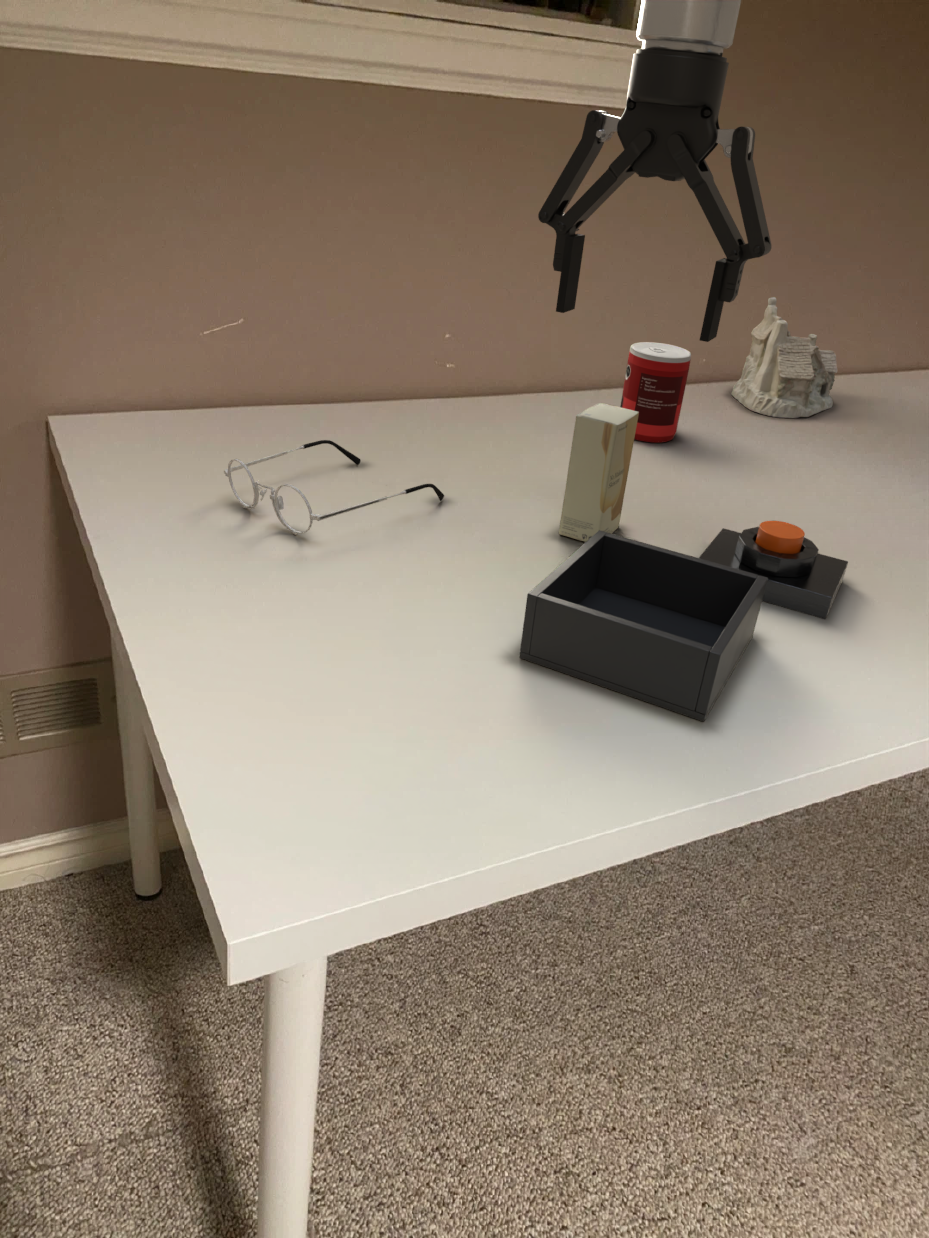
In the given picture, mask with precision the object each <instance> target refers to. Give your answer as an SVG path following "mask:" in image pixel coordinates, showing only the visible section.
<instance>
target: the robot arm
mask: <svg viewBox="0 0 929 1238" xmlns="http://www.w3.org/2000/svg"><path fill="white" fill-rule="evenodd" d="M741 3H742V0H641V4H640V10H639V16H638V23H637V28H636V34H635V35H636V38H637V40H638V41H641V42H642V45H641V48H637V49H636V52H634V53H633V55H632V62H631V69H630V75H629V81H628V87H627V93H626V104H625V109H624V111H623V113H622V115H621V117H620V116H615V115H611V114H610V113H609V112H608V111H607V110H596V109H595V110H594V109H593V110H590V111H589V112H588V113H587V115H586V118H585V121H584V127H583V131H582V133H581V134H582V135H581V138H580V141H579V142H578V144H577V146H576V147H575V149H574V150H573V152H572V154H571V156H570V158H569V159H568V161H567V163H566V165H565V167H564V168H563V170H562V172H561V173H560V175H559V177H558V178H557V180H556V181H555V183H554V185H553V187H552V188H551V190H550V192H549V194H548V196H547V197H546V200H545V201H544V203H543V205H542V206H541V208H540V210H539V212H538V213H537V214H538V215H537V218H538V221H539V222H540V223H542V224H546V225H547V226H549V227H551V228H552V229H553V230H554V232H555V235H556V237H555V244H554V252H553V260H552V268H553V271H555V272H559V273H560V277H559V284H558V291H557V292H558V293H557V300H556V307H555V312H556V313H561V314H564V313H567V312H570V311H572V310H573V311H574V310H575V309H576V303H577V302H576V301H577V295H578V289H579V281H580V274H581V267H582V261H583V253H584V247H585V240H586V239H585V238H586V234H582V233H576V232H578V231H580V227H581V226H582V225H583V224H584V223H586V221H587V220H588V219H589V218H590V217H591V216H592V215H593V214H594V213H595V212H596V211H597V210H598V209H599V208H600V207H601V206H602V205H603V204H604V203H606V201H607V200H608V199H609V198H610V197H611V196H612V195H613V194H614V193H615V192H616V191H617V190H618V189H619V188H620V187H621V186H622V185H623V184H624V183H625V181H627V180H628V179H630V178H631V177H632V176H633V175H634V174H636V175H638V177H639V178H645V179H648V178H660V179H661V180H663V181H668V182H681V181H683V180H685V182H686V185H688V187H689V189H690V190H691V191H692V193H693V194H694V196H695V198H696V200H697V202H698V204H699V206H700V208H701V210H702V212H703V214H704V216H705V217H706V220H707V222H708V224H709V226H710V227H711V229H712V231H713V234H714V236H715V238H716V240H717V242H718V243H719V245H720V248H721V250H722V251H723V253H724V255H725V257H724V258H720V259H718V260H716V261H715V265H714V269H713V274H712V279H711V282H710V288H709V292H708V298H707V302H706V303H707V304H706V306H705V307H706V308H705V312H704V317H703V320H702V326H701V330H700V335H699V341H701V342H705V343H709V342H710V341H712V340H713V339H716V338H717V336H718V332H719V331H718V330H719V327H720V321H721V319H722V318H721V316H722V313H723V308H724V303H732V302H733V301H735V300H736V298H737V297H738V296H739V290H740V286H741V282H742V277H743V272H744V267H745V265H746V263H747V262H748V261H749V260H751V259H756V258H758V259H759V258H761V257H764V256H765V255H768V254H769V253H770V252H771V250H772V240H771V236H770V232H769V226H768V224H767V218H766V213H765V209H764V204H763V199H762V196H761V190H760V186H759V181H758V177H757V172H756V166H755V163H754V150H755V140H756V131H755V129H754V128H753V127H751V126H738V127H736V128H720V124H719V114H720V110H721V105H722V99H723V96H724V89H725V85H726V80H727V75H728V69H729V64H730V63H729V62H727V61H728V58H727V57H725V56H723V54H724V50H727V49H730V48H731V47H732V46H733V43H734V38H735V33H736V28H737V23H738V19H739V14H740V8H741V5H742V4H741ZM615 133H617V137H618V139H619V141H620V144H621V146H622V148H623V151H621V152H620V153H619V155H617V157H616V158H615V159H614V160H612V162H611V163H610V164H609V166H608V168H607V169H606V170H605V171H604V172H603V174H602V175H600V177H598V179H597V180H596V181H595V182H594V183H593V184H592V185H591V186H590V187H589V188H588V189H587V190H586V191H585V192H584V193H583V194H582V195H581V196H580V197H579V198H578V200H577V201H576V202H574V203H573V205H572V206H571V207H569V209H568V210H567V211H566V209H567V208H568V206H569V204H570V203H571V201H572V199H573V198H574V196H575V194H576V192H577V191H578V189H579V188H580V186H581V184H582V183H583V181H584V180H585V178H586V176H587V174H588V172H589V170H590V169H591V167H592V166H593V165H594V162H595V161H596V159H597V158H598V155H599V154H600V152H601V150H602V148H603V146H604V144H605V143H607V142H609V141H610V140H611V139H612V137H613V135H614V134H615ZM718 145H720V146H721V147H722V151H723V154H724V156H725V157H726V158H730V167H731V173H732V178H733V182H734V187H735V191H736V196H737V200H738V205H739V209H740V214H741V218H742V222H743V226H744V232H745V236H746V240H747V243H746V242H745V240H744V238H743V236H742V234H741V231H740V230H739V228H738V226H737V224H736V223H735V220H734V218H733V216H732V214H731V212H730V211H729V208H728V206H727V204H726V202H725V200H724V198H723V196H722V194H721V192H720V190H719V189H718V186H717V185H716V182H715V179H714V175H713V173H712V171H711V169H710V167H709V164H708V163H707V161H706V159H707V158H708V156H709V155H710V154H711V153H712V152H713V151H714V150H715V149H716V147H717V146H718ZM565 211H566V212H565Z"/></svg>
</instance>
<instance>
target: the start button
mask: <svg viewBox="0 0 929 1238" xmlns="http://www.w3.org/2000/svg"><path fill="white" fill-rule="evenodd" d="M758 527H759V530H758V534H757V537H756V541H755V543H756V544H757V545H759V546H761V547H762V548H764V549H766V550H770V551H774V552H778V553H785V554H795V553H799V552H800V550H801V546H802V543H803V539H804V537H805V536H806V533H805V531H804V529H802V528H801V527H799V526H797V525H795V524H792V523H789V522H785V521H781V520H765V521H762V522H761V523H759V526H758Z"/></svg>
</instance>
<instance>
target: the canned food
mask: <svg viewBox="0 0 929 1238" xmlns="http://www.w3.org/2000/svg"><path fill="white" fill-rule="evenodd" d="M691 361H692V353H691V352H690V351H689V350H687V349H685V348H683V347H680V346H677V345H674V344H668V343H663V342H653V341H641V342H635V343H632V344H631V345H630V348H629V352H628V358H627V363H626V369H625V375H624V381H623V387H622V394H621V399H620V400H621V401H620V406H619V407H621V408H625V409H629V410H633V411H638V412H639V415H638V421H637V426H636V432H635V438H634V441H640V442H645V443H654V444H656V443H659V444H660V443H667V442H670V441H672V440H673V439H674V437H675V435H676V434H677V431H678V425H679V420H680V415H681V410H682V406H683V401H684V396H685V391H686V385H687V382H688V381H687V380H688V376H689V371H690V366H691Z"/></svg>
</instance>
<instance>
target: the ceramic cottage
mask: <svg viewBox="0 0 929 1238" xmlns="http://www.w3.org/2000/svg"><path fill="white" fill-rule="evenodd" d="M767 299H768V300H767V307H766V308H765V310H764V313H763V319H762V320H761V321H760V323H759V324H757V325H756V326H755V327H753V329H752V331H751V332H750V337H751V339H752V340H751V345H750V351H749V353H748V355H747V356H746V357H745V362H744V364H743V368H742V371H741V376H740V378H739V379H738V380H737V382H736V383H735V384H734V386H733V388H732V391H731V396H732V397H734V399H735V400H737V401H738V402H739V403H740V404H742V406H744V407H745V408H747V409H748V410H750V411H752V412H755V413H758V414H761V415H764V416H768V417H774V418H786V419H798V418H809V417H811V416H813V415H816V414H818V413H821V412H822V411H827V410H829V409H832V408H833V405H834V404H833V402H834V400H833V398H832V396H831V395H830V391H832V390H833V387H834V383H835V379H836V377H835V376H836V374H837V373H838V362H837V354H836V352H835V351H834V350H831V349H830V350H829V349H826V350H825V349H820V346H819V345H816V344H817V339H818V335H817V334H814V333H810V334H808V335H807V337H800V336H795V335H794V336H791V331H790V330H789V329H788V328H789V327H788V326H789V323H788V321H786V320H785V319H783V317H782V316H778V307H777V302H778V301H777V298H776V297H775V296H773V297H769V298H767Z"/></svg>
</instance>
